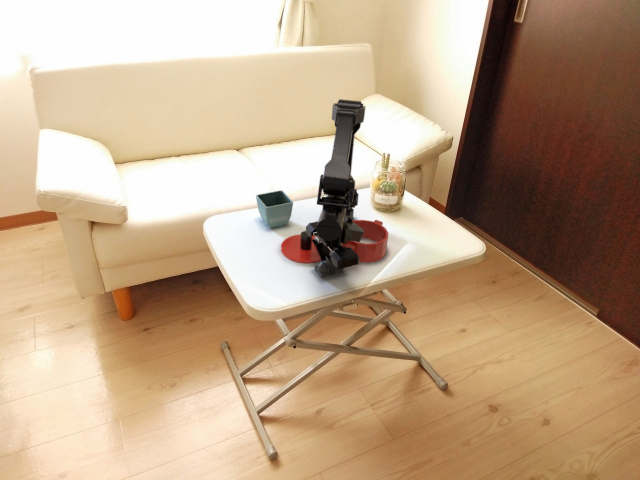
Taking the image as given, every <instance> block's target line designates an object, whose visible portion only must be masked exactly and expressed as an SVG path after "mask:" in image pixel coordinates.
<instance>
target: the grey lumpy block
mask: <svg viewBox="0 0 640 480" xmlns="http://www.w3.org/2000/svg"><path fill="white" fill-rule="evenodd" d="M314 271H315V272H316V273H317V275H318V276H319V277H320V279H325V278H328V277H329V278H330V277H332V276H336V275H340V274H344V271H345V268H343V269H338V270H337V272H336V273H335V274H334V275H331V273H330V270H329V267H328V263H327V260H325V261H319V263H318V264H317V265H315V266H314Z"/></svg>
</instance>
